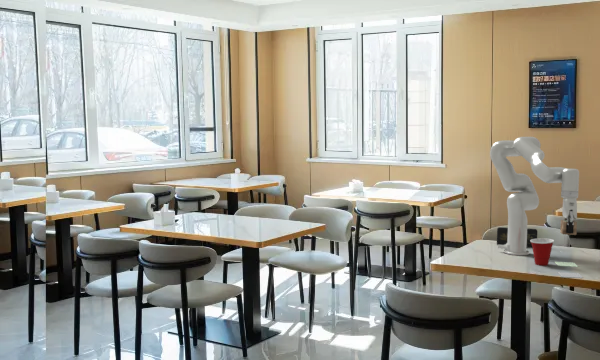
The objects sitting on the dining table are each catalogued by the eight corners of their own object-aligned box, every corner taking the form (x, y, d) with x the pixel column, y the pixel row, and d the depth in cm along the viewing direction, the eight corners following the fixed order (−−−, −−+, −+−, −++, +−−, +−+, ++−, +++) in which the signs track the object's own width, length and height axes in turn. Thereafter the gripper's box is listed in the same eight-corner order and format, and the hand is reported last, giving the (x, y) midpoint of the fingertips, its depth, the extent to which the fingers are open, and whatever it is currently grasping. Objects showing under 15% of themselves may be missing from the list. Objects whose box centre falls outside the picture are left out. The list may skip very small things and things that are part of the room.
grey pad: (561, 277, 286) (561, 276, 286) (557, 272, 295) (557, 272, 295) (583, 278, 285) (583, 277, 285) (578, 273, 294) (578, 273, 293)
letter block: (576, 234, 308) (577, 221, 307) (562, 234, 309) (563, 221, 309) (573, 232, 314) (574, 220, 313) (560, 232, 315) (560, 219, 314)
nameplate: (536, 246, 358) (537, 228, 358) (536, 247, 357) (537, 229, 356) (496, 245, 363) (497, 227, 362) (496, 245, 361) (497, 227, 360)
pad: (558, 265, 309) (558, 265, 309) (554, 262, 318) (554, 261, 318) (578, 266, 308) (578, 266, 308) (574, 262, 316) (574, 262, 316)
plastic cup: (525, 262, 317) (526, 237, 316) (546, 261, 318) (547, 237, 317) (535, 267, 306) (536, 241, 305) (557, 266, 307) (558, 241, 306)
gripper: (582, 196, 301) (580, 235, 302) (574, 193, 318) (572, 229, 319) (564, 196, 302) (563, 234, 304) (557, 192, 319) (556, 229, 321)
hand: (568, 231), depth 311 cm, fingers closed on letter block, 6 cm apart
